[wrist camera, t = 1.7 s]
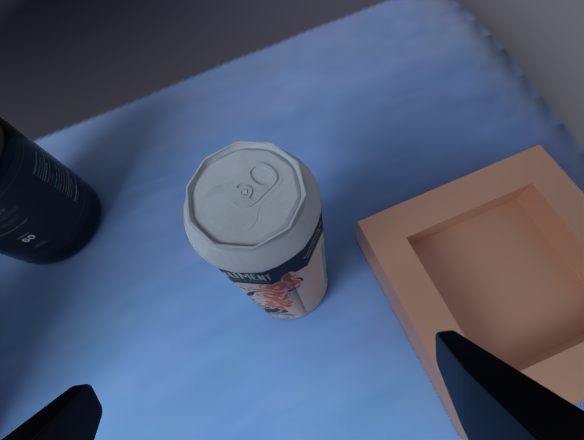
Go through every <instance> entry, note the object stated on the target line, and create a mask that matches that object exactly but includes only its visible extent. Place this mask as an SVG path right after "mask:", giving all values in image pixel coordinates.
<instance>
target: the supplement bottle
mask: <svg viewBox="0 0 584 440" xmlns="http://www.w3.org/2000/svg"><path fill="white" fill-rule="evenodd" d="M99 218H100V201H99V198H98V196H97V194H96V192H95V190H94V189H93V188H92V187H91V186H90V185H89V184H88V183H87V182H85V181H84V180H83V179H82V178H80V177H79V176H78V175H77V174H75V173H74V172H73V171H71V170H70V169H69V168H67V167H66V166H65V165H63V164H62V163H61V162H60V161H58V160H57V159H56V158H54V157H53V156H52V155H50V154H49V153H48V152H46V151H45V150H44V149H43V148H41V147H40V146H39V145H37V144H36V143H35V142H33V141H32V140H31V139H29V138H28V137H27V136H26V135H24V134H23V133H22V132H20V131H19V130H18V129H16V128H15V127H14V126H12V125H11V124H10V123H9V122H7V121H6V120H4V119H3V118H2V117H0V253H1V254H3V255H6V256H9V257H12V258H15V259H18V260H21V261H24V262H27V263H31V264H38V265H43V264H51V263H55V262H59V261H61V260H64V259H66V258H68V257H70V256H71V255H73V254H74V253H76V252H77V251H78V250H80V249H81V248H82V247H83V246H84V245H85V244H86V243H87V242H88V241H89V239H90V238H91V236H92V235H93V233H94V231H95V230H96V227H97V225H98V222H99Z"/></svg>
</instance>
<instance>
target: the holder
mask: <svg viewBox="0 0 584 440" xmlns="http://www.w3.org/2000/svg"><path fill="white" fill-rule="evenodd" d="M355 238H356V240H357V242H358V244H359V246H360V248H361V250H362V251H363V253H364V255H365V257H366V259H367V261H368V263H369V265H370V267H371V269H372V270H373V272H374V274H375V276H376V278H377V280H378V282H379V284H380V286H381V288H382V290H383V291H384V293H385V295H386V297H387V299H388V301H389V303H390V305H391V307H392V309H393V310H394V312H395V314H396V316H397V318H398V320H399V322H400V324H401V326H402V328H403V329H404V331H405V333H406V335H407V337H408V339H409V341H410V343H411V345H412V347H413V349H414V350H415V352H416V354H417V356H418V358H419V360H420V362H421V364H422V366H423V368H424V369H425V371H426V373H427V375H428V377H429V379H430V381H431V383H432V385H433V387H434V389H435V390H436V392H437V394H438V396H439V398H440V400H441V402H442V404H443V406H444V408H445V409H446V411H447V413H448V415H449V417H450V419H451V421H452V423H453V425H454V427H455V428H456V430H457V432H458V434H459V436H460V438H461V439H462V440H468V438H467V436H466V434H465V432H464V430H463V427H462V425H461V423H460V420H459V418H458V415H457V413H456V410H455V408H454V405H453V403H452V400H451V398H450V395H449V393H448V390H447V388H446V385H445V383H444V380H443V378H442V375H441V373H440V370H439V368H438V365H437V361H436V341H435V336H436V333H437V332H440V331H447V330H453V331H456V332H457V333H459V334H461V335H462V336H464V337H465V338H467V339H469V340H470V341H472V342H473V343H475V344H477V345H478V346H480V347H482V348H483V349H485V350H486V351H488V352H490V353H491V354H493V355H494V356H496V357H498V358H499V359H501V360H502V361H504V362H506V363H507V364H509V365H511V366H512V367H514V368H515V369H517V370H519V371H520V372H522V373H523V374H525V375H527V376H528V377H530V378H531V379H533V380H535V381H536V382H538V383H540V384H541V385H543V386H544V387H546V388H548V389H549V390H551V391H552V392H554V393H556V394H557V395H559V396H561V397H562V398H564V399H565V400H567V401H569V402H570V403H572V404H573V405H575V404H577V403H579V402H581V401H583V400H584V193H583V192H582V191H581V190H580V188H579V187H578V186H577V185H576V184H575V183H574V182H573V181H572V179H571V178H570V177H569V176H568V175H567V174H566V173H565V172H564V171H563V169H562V168H561V167H560V166H559V165H558V164H557V163H556V162H555V161H554V159H553V158H552V157H551V156H550V155H549V154H548V153H547V152H546V150H545V149H544V148H543V147H542V146H541V145H540V144H539V145H536V146H534V147H532V148H529V149H527V150H524V151H522V152H520V153H517V154H515V155H513V156H510V157H508V158H506V159H503V160H501V161H499V162H496V163H494V164H491V165H489V166H487V167H484V168H482V169H480V170H477V171H475V172H473V173H470V174H468V175H466V176H463V177H461V178H458V179H456V180H454V181H451V182H449V183H447V184H444V185H442V186H440V187H437V188H435V189H433V190H430V191H428V192H425V193H423V194H421V195H418V196H416V197H414V198H411V199H409V200H407V201H404V202H402V203H400V204H397V205H395V206H392V207H390V208H388V209H385V210H383V211H381V212H378V213H376V214H374V215H371V216H369V217H367V218H364V219H362V220H359V221H357V227H356V234H355Z"/></svg>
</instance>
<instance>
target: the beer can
mask: <svg viewBox="0 0 584 440" xmlns="http://www.w3.org/2000/svg"><path fill="white" fill-rule="evenodd" d="M185 190H186V197H185V203H184V209H183V213H184V227H185V231H186V234H187V236H188V239H189V241H190V243H191V245H192V246H193V247H194V249H195V250H196V251H197V252H198V254H199V255H200V256H201V257H202V258H204V259H205V260H206V261H207V262H209V263H210V264H211V265H213V266H215V267H217V268H218V269H219V270H220V271H222V272H223V273H224V274H225V275H226V276H227V277H228V278H229V279H231V280H232V281H233V282H234V283H235V284H236V285H237V286H238V287H239V288H241V289H242V290H243V291H244V292H245V293H246V294H247V295H248V296H250V297H251V298H252V299H253V300H254V301H255V302H256V303H257V304H258V305H259V306H260V308H261V309H262V310H264V311H265V312H266V313H267V314H269V315H270V316H272V317H275V318H278V319H287V320H292V319H298V318H301V317H303V316H306V315H307V314H309V313H310V312H312V311H313V310H314V309H315V308H316V307H317V306H318V305H319V304H320V303H321V301H322V300H323V297H324V295H325V293H326V289H327V285H328V277H327V269H326V258H325V246H324V235H323V224H322V213H321V197H320V192H319V187H318V184H317V181H316V179H315V178H314V176H313V175H312V173H311V171H310V170H309V168H308V167H307V166H306V165H305V164H304V163H303V162H302V161H301V160H300V159H298V158H297V157H295V156H293V155H291V154H290V153H288V152H286V151H284V150H282V149H280V148H278V147H277V146H276V145H274V144H273V143H271V142H238V141H236V142H234V143H232V144H230V145H228V146H227V147H225V148H223V149H221V150H219V151H217V152H215V153H213V154H211V155H209V156H208V157H206V158H204V159H203V161H202V162H201V164H200V166H199V167H198V169H197V170H196V172H195V174H194V175H193V177H192V178H191V180H190V182H189V183H188V185H187V186H186V188H185Z"/></svg>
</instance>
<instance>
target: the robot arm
mask: <svg viewBox="0 0 584 440" xmlns="http://www.w3.org/2000/svg"><path fill="white" fill-rule="evenodd" d="M435 341H436V361H437V365H438V368H439V370H440V373H441V375H442V378H443V380H444V383H445V385H446V388H447V390H448V393H449V395H450V398H451V400H452V403H453V405H454V408H455V410H456V413H457V415H458V418H459V420H460V423H461V425H462V427H463V430H464V432H465V434H466V436H467V438H468V440H584V411H583V410H581V409H580V408H578V407H577V406H575V405H573V404H572V403H570V402H569V401H567V400H565V399H564V398H562V397H561V396H559V395H557V394H556V393H554V392H552V391H551V390H549V389H548V388H546V387H544V386H543V385H541V384H540V383H538V382H536V381H535V380H533V379H531V378H530V377H528V376H527V375H525V374H523V373H522V372H520V371H519V370H517V369H515V368H514V367H512V366H511V365H509V364H507V363H506V362H504V361H502V360H501V359H499V358H498V357H496V356H494V355H493V354H491V353H490V352H488V351H486V350H485V349H483V348H482V347H480V346H478V345H477V344H475V343H473V342H472V341H470V340H469V339H467V338H465V337H464V336H462V335H461V334H459V333H457V332H456V331H453V330H447V331H440V332H437V333H436V336H435ZM101 416H102V406H101V404H100V402H99V400H98V398H97V396H96V394H95V392H94V390H93V388H92V386H90V385H89V384H83V385H76V386H73V387H71V388H69V389H68V390H67V391H65V392H64V393H63V394H61V395H60V396H59V397H57V398H56V399H55V400H53V401H52V402H51V403H49V404H48V405H47V406H45V407H44V408H43V409H42V410H40V411H39V412H38V413H36V414H35V415H34V416H32V417H31V418H30V419H28V420H27V421H26V422H24V423H23V424H22V425H20V426H19V427H18V428H16V429H15V430H14V431H13V432H11V433H10V434H9V435H7V436H6V437H5V438H3V439H2V440H94V438H95V435H96V432H97V429H98V426H99V423H100V420H101Z"/></svg>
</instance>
